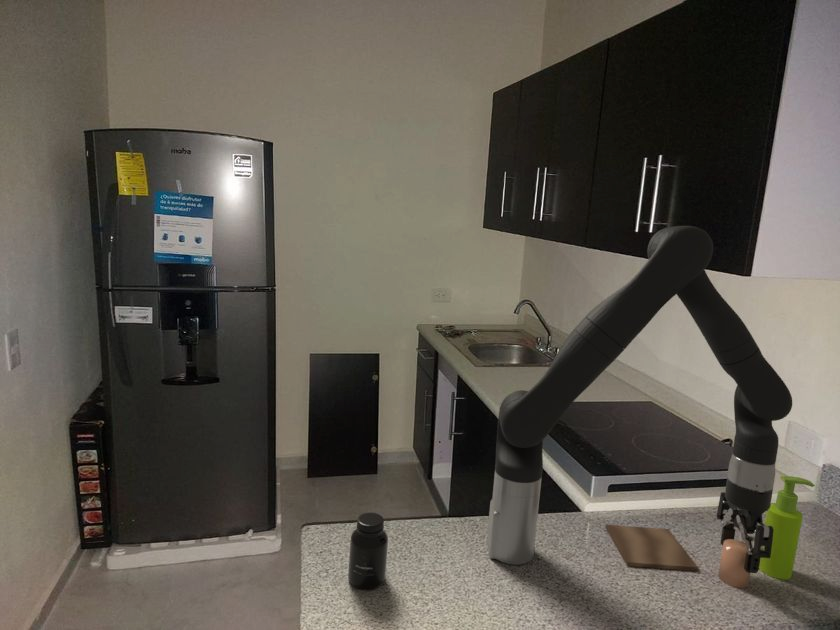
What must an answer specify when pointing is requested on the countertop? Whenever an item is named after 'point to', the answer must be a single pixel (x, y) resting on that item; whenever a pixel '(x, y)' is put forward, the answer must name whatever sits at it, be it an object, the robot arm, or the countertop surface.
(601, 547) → the countertop surface
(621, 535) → the mat
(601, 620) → the countertop surface
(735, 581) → the spice jar
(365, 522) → the supplement bottle
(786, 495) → the soap dispenser
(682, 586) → the countertop surface
